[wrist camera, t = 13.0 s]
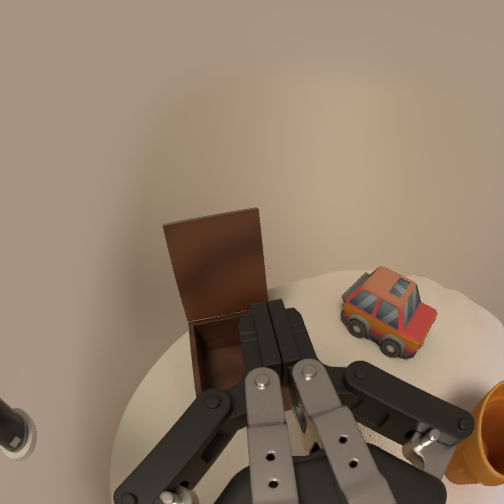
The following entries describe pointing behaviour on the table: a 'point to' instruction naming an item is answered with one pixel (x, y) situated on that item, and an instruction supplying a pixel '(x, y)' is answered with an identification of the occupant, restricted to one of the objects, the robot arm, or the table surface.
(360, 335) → the toy car
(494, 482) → the flower pot
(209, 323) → the case
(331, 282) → the table surface
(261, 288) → the lid
